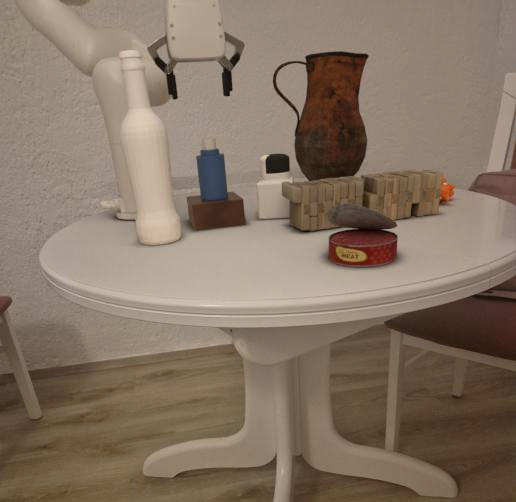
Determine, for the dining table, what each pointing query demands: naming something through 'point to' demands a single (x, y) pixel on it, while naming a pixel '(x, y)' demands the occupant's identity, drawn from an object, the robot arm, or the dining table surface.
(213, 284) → the dining table surface
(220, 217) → the walnut block
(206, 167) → the blue bottle
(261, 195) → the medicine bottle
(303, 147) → the pitcher
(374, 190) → the block tower
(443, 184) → the orange toy bird
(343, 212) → the canned food
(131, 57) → the bottle
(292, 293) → the dining table surface
